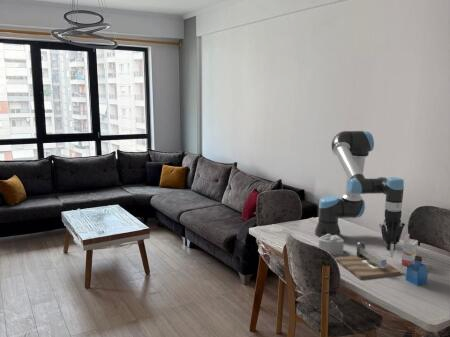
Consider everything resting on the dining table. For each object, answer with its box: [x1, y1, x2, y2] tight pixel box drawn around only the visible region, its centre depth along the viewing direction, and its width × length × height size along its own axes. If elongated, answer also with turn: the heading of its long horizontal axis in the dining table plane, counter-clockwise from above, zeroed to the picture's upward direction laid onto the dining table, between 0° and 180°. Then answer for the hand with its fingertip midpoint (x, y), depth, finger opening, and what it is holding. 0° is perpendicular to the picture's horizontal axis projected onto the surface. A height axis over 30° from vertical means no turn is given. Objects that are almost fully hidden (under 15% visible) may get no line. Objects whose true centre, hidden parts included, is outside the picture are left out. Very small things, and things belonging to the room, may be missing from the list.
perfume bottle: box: [405, 255, 429, 287], centre depth 188 cm, size 6×6×12 cm
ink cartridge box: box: [401, 233, 419, 267], centre depth 208 cm, size 9×5×15 cm, turn 141°
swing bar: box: [356, 240, 387, 267], centre depth 206 cm, size 21×4×7 cm, turn 14°
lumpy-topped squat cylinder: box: [317, 234, 345, 256], centre depth 225 cm, size 10×13×9 cm
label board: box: [334, 254, 402, 280], centre depth 204 cm, size 23×22×2 cm
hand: (389, 256), depth 202 cm, fingers closed
